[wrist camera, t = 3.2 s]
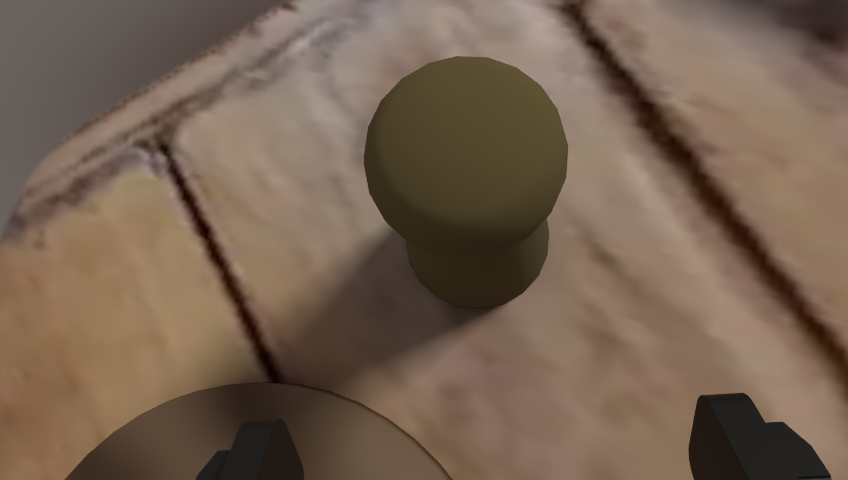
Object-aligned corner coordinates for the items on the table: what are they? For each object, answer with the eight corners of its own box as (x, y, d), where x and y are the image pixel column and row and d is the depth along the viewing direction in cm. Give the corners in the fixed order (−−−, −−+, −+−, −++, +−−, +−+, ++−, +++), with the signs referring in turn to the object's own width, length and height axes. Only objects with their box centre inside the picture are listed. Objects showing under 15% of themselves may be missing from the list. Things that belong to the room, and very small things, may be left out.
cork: (499, 337, 22) (503, 315, 11) (379, 259, 23) (282, 173, 13) (576, 214, 23) (647, 86, 12) (455, 145, 24) (423, -26, 13)
